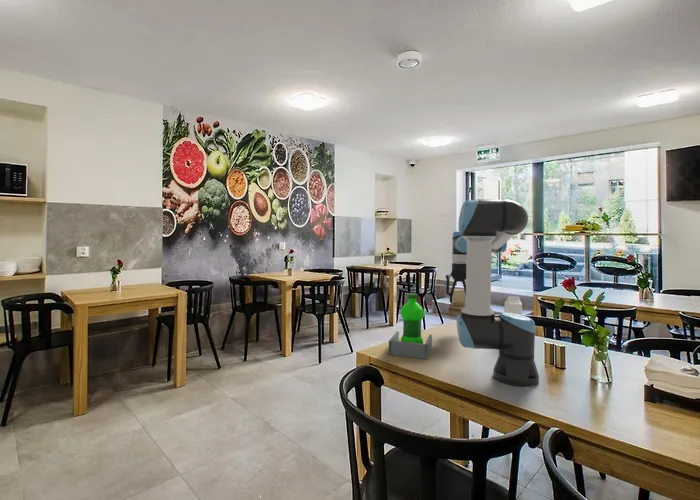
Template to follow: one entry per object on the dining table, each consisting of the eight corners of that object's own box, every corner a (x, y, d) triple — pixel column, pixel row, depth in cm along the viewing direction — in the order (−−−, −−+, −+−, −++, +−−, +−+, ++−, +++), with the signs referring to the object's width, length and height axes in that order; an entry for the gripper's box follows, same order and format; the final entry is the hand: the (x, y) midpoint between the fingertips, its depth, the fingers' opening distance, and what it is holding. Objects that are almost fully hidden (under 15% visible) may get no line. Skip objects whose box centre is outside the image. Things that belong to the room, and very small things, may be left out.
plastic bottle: (422, 353, 161) (423, 296, 160) (397, 351, 165) (398, 295, 163) (425, 347, 171) (425, 293, 170) (402, 344, 174) (402, 291, 173)
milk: (503, 339, 184) (504, 295, 183) (515, 339, 184) (516, 295, 183) (508, 343, 178) (509, 297, 177) (521, 343, 178) (522, 297, 177)
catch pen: (427, 359, 155) (427, 345, 155) (388, 354, 160) (388, 340, 160) (431, 347, 170) (431, 334, 170) (396, 344, 175) (396, 331, 175)
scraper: (466, 315, 170) (467, 293, 170) (448, 314, 172) (449, 292, 172) (467, 306, 196) (468, 287, 196) (452, 305, 199) (452, 286, 199)
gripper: (479, 262, 184) (478, 309, 185) (441, 261, 189) (440, 306, 191) (479, 264, 177) (478, 312, 178) (440, 262, 182) (439, 309, 184)
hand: (458, 309), depth 184 cm, fingers closed on scraper, 5 cm apart
